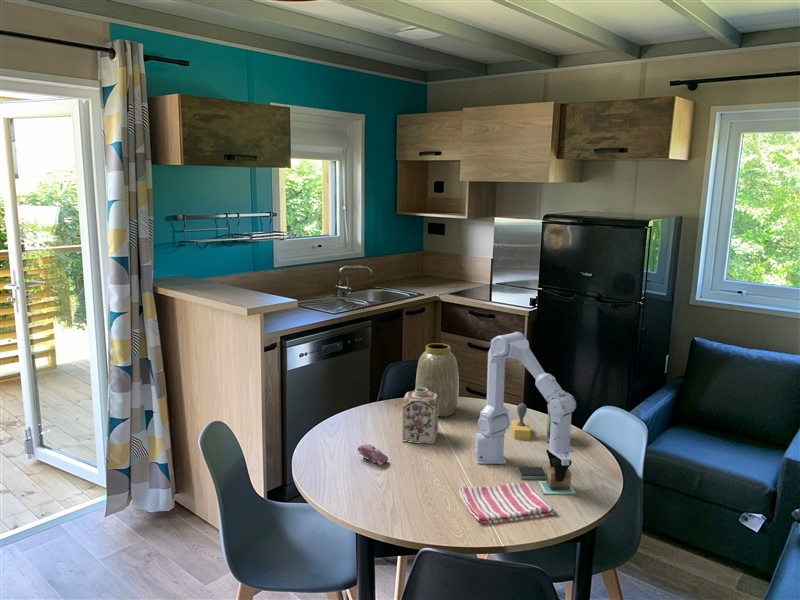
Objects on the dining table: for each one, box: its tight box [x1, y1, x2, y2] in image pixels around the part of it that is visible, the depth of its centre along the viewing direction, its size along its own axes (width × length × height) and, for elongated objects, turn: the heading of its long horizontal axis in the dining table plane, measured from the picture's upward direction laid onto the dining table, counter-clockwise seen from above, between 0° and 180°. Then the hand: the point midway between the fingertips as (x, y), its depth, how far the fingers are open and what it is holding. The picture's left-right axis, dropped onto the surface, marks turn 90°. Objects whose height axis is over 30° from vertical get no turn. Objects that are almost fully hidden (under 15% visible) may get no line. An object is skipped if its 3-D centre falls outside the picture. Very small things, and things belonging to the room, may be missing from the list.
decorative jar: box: [401, 387, 439, 445], centre depth 219 cm, size 12×12×18 cm
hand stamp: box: [546, 466, 572, 489], centre depth 184 cm, size 6×4×7 cm, turn 91°
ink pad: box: [516, 466, 547, 481], centre depth 192 cm, size 8×6×2 cm
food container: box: [546, 409, 551, 444], centre depth 220 cm, size 12×6×10 cm, turn 168°
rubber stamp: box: [510, 402, 532, 441], centre depth 224 cm, size 10×6×12 cm, turn 176°
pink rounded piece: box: [357, 443, 389, 464], centre depth 201 cm, size 10×5×7 cm, turn 48°
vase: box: [415, 342, 460, 417], centre depth 244 cm, size 17×17×27 cm
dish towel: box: [458, 482, 557, 525], centre depth 174 cm, size 17×23×4 cm
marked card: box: [536, 480, 578, 496], centre depth 184 cm, size 10×8×1 cm
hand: (557, 477), depth 184 cm, fingers closed on hand stamp, 4 cm apart
